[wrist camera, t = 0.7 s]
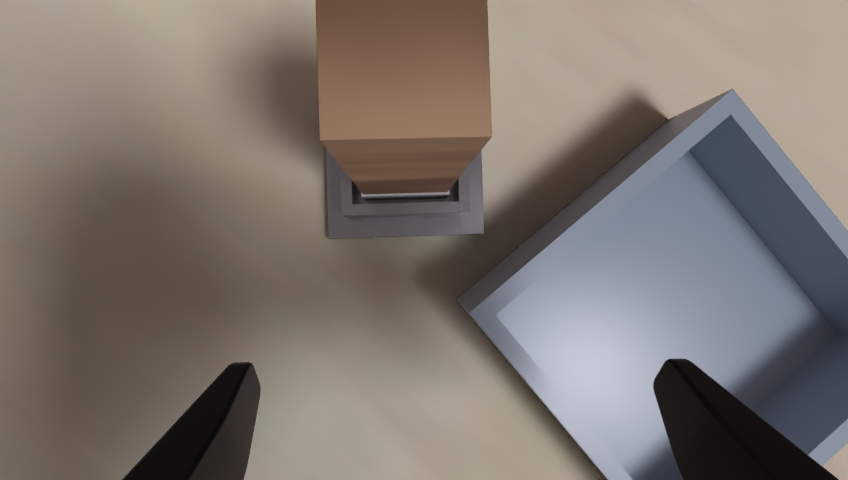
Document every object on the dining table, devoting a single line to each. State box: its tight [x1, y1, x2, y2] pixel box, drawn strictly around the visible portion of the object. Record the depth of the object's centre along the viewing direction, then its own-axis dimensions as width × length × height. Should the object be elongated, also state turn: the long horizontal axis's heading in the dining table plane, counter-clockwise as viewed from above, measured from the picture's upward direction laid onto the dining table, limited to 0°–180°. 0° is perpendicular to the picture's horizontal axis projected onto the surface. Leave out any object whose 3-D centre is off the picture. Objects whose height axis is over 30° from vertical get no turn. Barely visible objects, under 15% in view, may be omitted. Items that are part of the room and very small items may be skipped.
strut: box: [316, 0, 492, 200], centre depth 16 cm, size 4×4×12 cm
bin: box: [456, 89, 848, 480], centre depth 21 cm, size 15×15×4 cm
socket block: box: [326, 149, 484, 239], centre depth 21 cm, size 8×8×3 cm
